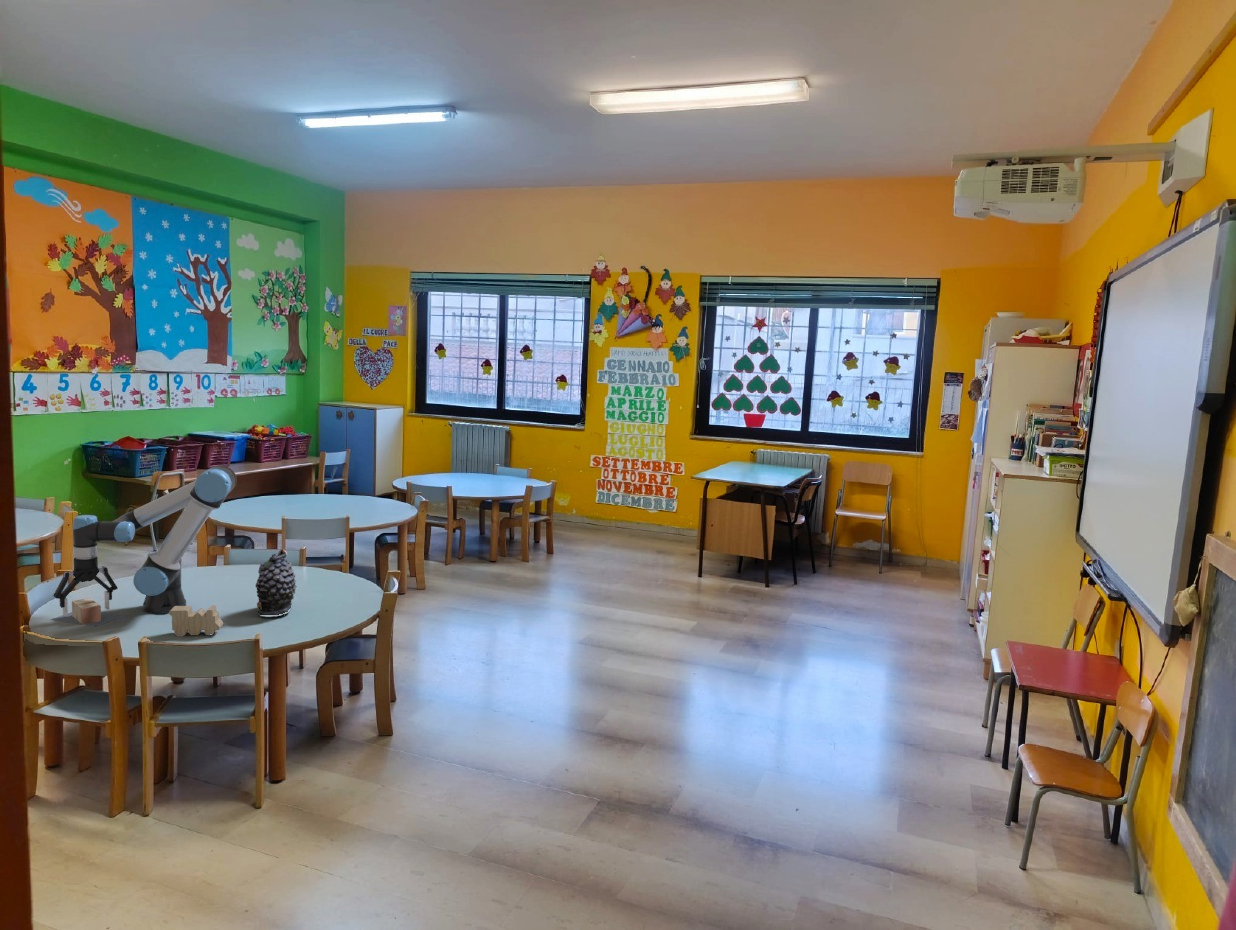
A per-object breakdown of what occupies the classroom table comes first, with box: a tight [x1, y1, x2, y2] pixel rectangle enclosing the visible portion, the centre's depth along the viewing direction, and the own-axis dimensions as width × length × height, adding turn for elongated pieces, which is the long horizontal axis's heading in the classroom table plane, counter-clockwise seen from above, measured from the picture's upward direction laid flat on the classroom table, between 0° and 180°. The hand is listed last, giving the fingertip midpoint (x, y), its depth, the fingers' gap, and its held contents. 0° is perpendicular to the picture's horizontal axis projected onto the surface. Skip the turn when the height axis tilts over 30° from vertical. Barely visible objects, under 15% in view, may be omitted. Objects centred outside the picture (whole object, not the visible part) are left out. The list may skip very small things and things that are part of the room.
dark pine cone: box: [255, 548, 297, 615], centre depth 325 cm, size 21×15×25 cm
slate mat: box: [50, 611, 127, 627], centre depth 306 cm, size 20×14×1 cm
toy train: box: [168, 604, 224, 637], centre depth 297 cm, size 6×17×10 cm, turn 103°
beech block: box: [71, 597, 102, 625], centre depth 304 cm, size 6×6×12 cm
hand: (86, 612), depth 303 cm, fingers open, 13 cm apart
